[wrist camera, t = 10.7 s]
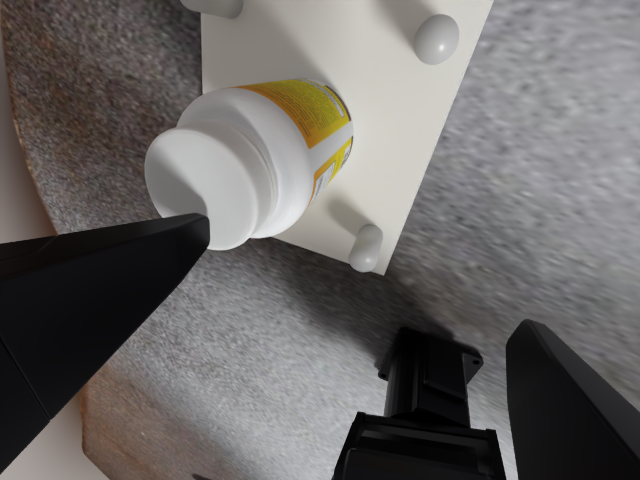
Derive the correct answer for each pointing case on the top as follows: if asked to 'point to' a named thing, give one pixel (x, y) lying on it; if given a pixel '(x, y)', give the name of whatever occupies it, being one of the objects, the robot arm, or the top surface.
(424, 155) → the pin tray
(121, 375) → the top surface
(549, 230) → the top surface
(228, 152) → the supplement bottle
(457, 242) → the top surface
